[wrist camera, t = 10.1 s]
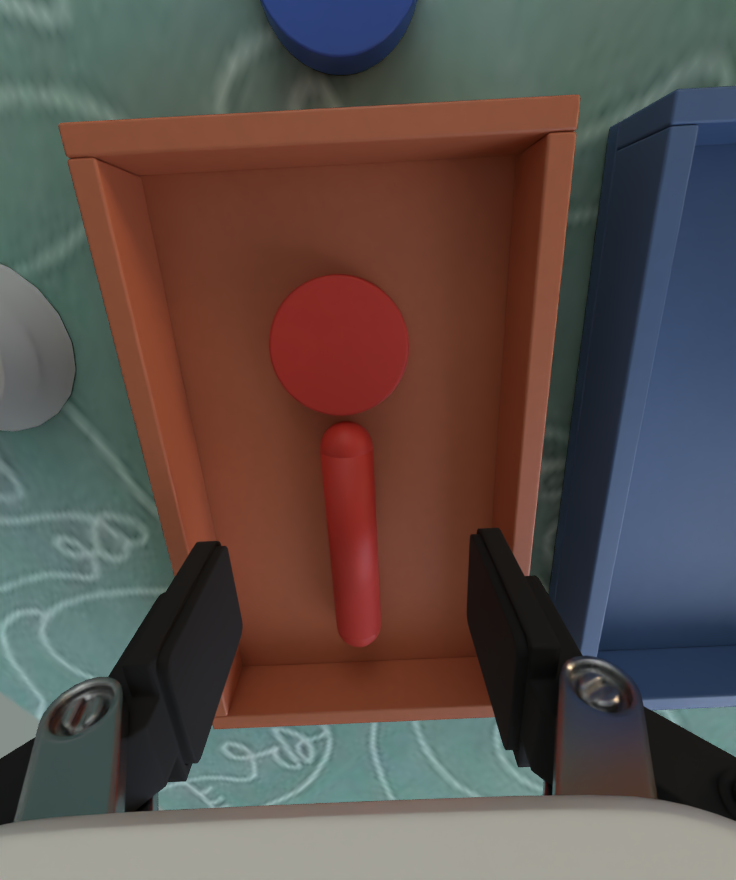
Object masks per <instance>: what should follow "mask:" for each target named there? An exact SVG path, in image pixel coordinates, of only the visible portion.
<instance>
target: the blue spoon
mask: <svg viewBox="0 0 736 880" xmlns="http://www.w3.org/2000/svg"><path fill="white" fill-rule="evenodd" d="M260 1H261V4H262V6H263V9H264V11H265V14H266V17H267V19H268V21H269V23H270V25H271V27H272V29H273V31H274V32H275V34H276V35H277V37H278V39H279V40H280V41H281V43H282V44H283V45H284V46H285V47H286V49H287V50H288V51H289V52H290V53H291V54H292V55H293V56H294V57H295V58H297V59H298V60H300V61H301V62H302V63H304V64H305V65H307V66H309V67H311V68H313V69H315V70H317V71H320V72H323V73H328V74H333V75H348V74H354V73H358V72H361V71H364V70H366V69H368V68H370V67H372V66H374V65H376V64H377V63H379V62H380V61H381V60H383V59H384V58H385V57H386V56H387V55H388V54H389V53H390V52H391V51H392V50H393V49H394V48H395V46H396V45H397V44H398V43H399V41H400V40H401V38H402V37H403V35H404V33H405V32H406V29H407V27H408V25H409V23H410V21H411V19H412V16H413V13H414V10H415V7H416V3H417V0H260Z"/></svg>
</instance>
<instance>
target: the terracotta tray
mask: <svg viewBox="0 0 736 880" xmlns="http://www.w3.org/2000/svg"><path fill="white" fill-rule="evenodd" d="M579 107H580V95H560V96H542V97H524V98H505V99H487V100H469V101H451V102H432V103H414V104H396V105H378V106H359V107H341V108H323V109H305V110H286V111H268V112H250V113H232V114H214V115H195V116H177V117H159V118H141V119H122V120H104V121H86V122H68V123H60V124H59V126H58V127H59V131H60V135H61V138H62V142H63V146H64V150H65V154H66V156H67V157H68V158H71V159H69V160H68V166H69V169H70V173H71V177H72V181H73V185H74V189H75V193H76V197H77V200H78V204H79V208H80V212H81V216H82V220H83V224H84V228H85V231H86V235H87V239H88V243H89V247H90V251H91V255H92V259H93V262H94V266H95V270H96V274H97V278H98V282H99V286H100V290H101V293H102V297H103V301H104V305H105V309H106V313H107V317H108V321H109V324H110V328H111V332H112V336H113V340H114V344H115V348H116V352H117V355H118V359H119V363H120V367H121V371H122V375H123V379H124V383H125V386H126V390H127V394H128V398H129V402H130V406H131V410H132V414H133V418H134V421H135V425H136V429H137V433H138V437H139V441H140V445H141V449H142V452H143V456H144V460H145V464H146V468H147V472H148V476H149V480H150V483H151V487H152V491H153V495H154V499H155V503H156V507H157V511H158V514H159V518H160V522H161V526H162V530H163V534H164V538H165V542H166V545H167V549H168V553H169V557H170V561H171V565H172V569H173V573H174V576H176V574H177V573H178V571H179V570H180V568H181V566H182V565H183V563H184V561H185V560H186V558H187V556H188V555H189V553H190V552H191V550H192V548H193V547H194V545H195V544H196V542H200V541H219V542H220V543H221V546H227V548H228V551H229V556H230V561H231V566H232V572H233V577H234V582H235V587H236V592H237V597H238V602H239V607H240V612H241V617H242V623H243V629H242V635H241V639H240V642H239V645H238V648H237V651H236V654H235V657H234V660H233V663H232V666H231V669H230V672H229V675H228V678H227V681H226V684H225V687H224V690H223V693H222V696H221V699H220V702H219V705H218V708H217V711H216V714H215V717H214V720H213V723H212V725H213V728H214V729H230V728H254V727H277V726H300V725H323V724H347V723H370V722H393V721H416V720H440V719H463V718H486V717H495V715H494V712H493V709H492V705H491V702H490V698H489V695H488V692H487V688H486V685H485V681H484V678H483V674H482V671H481V668H480V664H479V661H478V657H477V654H476V651H475V647H474V644H473V640H472V637H471V634H470V630H469V627H468V622H467V588H468V566H469V543H470V535H471V534H476V533H477V529H479V528H499V529H500V530H501V532H502V534H503V536H504V537H505V539H506V541H507V543H508V545H509V547H510V549H511V551H512V553H513V555H514V557H515V558H516V560H517V562H518V564H519V566H520V568H521V570H522V572H523V574H524V576H529V574H530V565H531V556H532V546H533V537H534V528H535V518H536V509H537V500H538V490H539V481H540V472H541V462H542V453H543V444H544V434H545V425H546V415H547V406H548V397H549V387H550V378H551V369H552V359H553V350H554V341H555V331H556V322H557V313H558V303H559V294H560V285H561V275H562V266H563V257H564V247H565V238H566V229H567V219H568V210H569V200H570V191H571V182H572V172H573V163H574V154H575V144H576V132H573V131H575V130H576V129H577V126H578V116H579ZM331 274H348V275H354V276H357V277H360V278H363V279H366V280H368V281H370V282H372V283H373V284H375V285H376V286H378V287H379V288H380V289H382V290H383V291H384V292H385V293H386V294H387V295H388V296H389V297H390V298H391V299H392V300H393V302H394V303H395V304H396V306H397V307H398V309H399V310H400V312H401V314H402V316H403V318H404V321H405V324H406V327H407V332H408V336H409V356H408V362H407V366H406V369H405V372H404V374H403V376H402V379H401V381H400V382H399V384H398V385H397V387H396V388H395V389H394V391H393V392H392V393H391V394H390V395H389V396H388V397H387V398H386V399H385V400H384V401H382V402H381V403H380V404H378V405H377V406H375V407H373V408H371V409H369V410H367V411H364V412H362V413H358V414H354V415H346V416H335V415H328V414H323V413H320V412H317V411H314V410H312V409H310V408H308V407H306V406H304V405H302V404H301V403H300V402H298V401H297V400H295V399H294V398H293V397H292V396H291V395H290V394H289V393H288V392H287V391H286V389H285V388H284V387H283V386H282V384H281V383H280V381H279V379H278V378H277V376H276V373H275V371H274V369H273V366H272V363H271V358H270V353H269V334H270V329H271V324H272V321H273V318H274V316H275V314H276V312H277V310H278V308H279V306H280V305H281V303H282V302H283V300H284V299H285V298H286V297H287V296H288V295H289V294H290V293H291V292H292V291H293V290H294V289H296V288H297V287H298V286H300V285H302V284H303V283H305V282H307V281H309V280H311V279H314V278H317V277H320V276H324V275H331ZM342 421H351V422H355V423H358V424H359V425H361V426H363V427H364V428H365V429H366V430H367V431H368V433H369V434H370V437H371V439H372V443H373V457H374V478H375V500H376V521H377V542H378V564H379V585H380V606H381V629H380V632H379V635H378V636H377V638H376V639H375V640H374V641H373V642H372V643H371V644H369V645H367V646H364V647H354V646H351V645H349V644H347V643H346V642H345V641H344V640H343V639H342V638H341V636H340V635H339V632H338V629H337V622H336V612H335V601H334V591H333V580H332V570H331V559H330V549H329V538H328V528H327V517H326V507H325V496H324V486H323V475H322V465H321V454H320V443H321V439H322V437H323V435H324V433H325V432H326V430H327V429H328V428H329V427H331V426H332V425H334V424H336V423H338V422H342Z"/></svg>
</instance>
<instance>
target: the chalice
mask: <svg viewBox="0 0 736 880" xmlns="http://www.w3.org/2000/svg"><path fill="white" fill-rule="evenodd" d="M75 371H76V368H75V361H74V354H73V347H72V342H71V340H70V338H69V335H68V333H67V331H66V329H65V327H64V325H63V322H62V320H61V318H60V316H59V314H58V313H57V312H56V310H55V309H54V308H53V307H52V305H51V304H50V303H49V302H48V301H47V299H46V298H45V297H44V296H43V295H42V293H41V292H40V291H39V290H38V288H36V287H35V286H34V285H32V284H31V283H30V282H28V281H27V280H25V279H24V278H23V277H21V276H20V275H19V274H17V273H16V272H15V271H13V270H12V269H11V268H9V267H7V266H4V265H2V264H0V430H3V431H19V430H24V429H28V428H33V427H37V426H40V425H41V424H43V423H44V422H46V421H47V420H49V419H50V418H52V417H53V416H55V415H56V414H58V413H59V411H60V410H61V408H62V407H63V405H64V404H65V402H66V401H67V399H68V398H69V396H70V395H71V391H72V386H73V381H74V376H75Z"/></svg>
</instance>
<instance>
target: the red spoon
mask: <svg viewBox="0 0 736 880" xmlns="http://www.w3.org/2000/svg"><path fill="white" fill-rule="evenodd" d="M269 353H270V358H271V363H272V366H273V369H274V371H275V373H276V376H277V378H278V379H279V381H280V383H281V384H282V386H283V387H284V388H285V389H286V391H287V392H288V393H289V394H290V395H291V396H292V397H293V398H294V399H295V400H297V401H298V402H300V403H301V404H302V405H304V406H306V407H308V408H310V409H312V410H314V411H317V412H320V413H323V414H328V415H335V416H346V415H354V414H358V413H362V412H364V411H367V410H369V409H371V408H373V407H375V406H377V405H378V404H380V403H381V402H382V401H384V400H385V399H386V398H387V397H388V396H389V395H390V394H391V393H392V392H393V391H394V389H395V388H396V387H397V385H398V384H399V382H400V381H401V379H402V376H403V374H404V372H405V369H406V366H407V362H408V356H409V336H408V332H407V327H406V324H405V321H404V318H403V316H402V314H401V312H400V310H399V309H398V307H397V306H396V304H395V303H394V302H393V300H392V299H391V298H390V297H389V296H388V295H387V294H386V293H385V292H384V291H383V290H382V289H380V288H379V287H378V286H376V285H375V284H373V283H372V282H370V281H368V280H366V279H363V278H360V277H357V276H354V275H348V274H331V275H324V276H320V277H317V278H314V279H311V280H309V281H307V282H305V283H303V284H302V285H300V286H298V287H297V288H296V289H294V290H293V291H292V292H291V293H290V294H289V295H288V296H287V297H286V298H285V299H284V300H283V302H282V303H281V305H280V306H279V308H278V310H277V312H276V314H275V316H274V318H273V321H272V324H271V329H270V334H269ZM320 454H321V465H322V475H323V486H324V496H325V507H326V517H327V528H328V538H329V549H330V559H331V570H332V580H333V591H334V601H335V612H336V622H337V629H338V632H339V635H340V636H341V638H342V639H343V640H344V641H345V642H346V643H347V644H349V645H351V646H354V647H364V646H367V645H369V644H371V643H372V642H373V641H374V640H375V639H376V638H377V636H378V635H379V632H380V629H381V606H380V585H379V564H378V542H377V521H376V500H375V478H374V457H373V443H372V439H371V437H370V434H369V433H368V431H367V430H366V429H365V428H364V427H363V426H361V425H359V424H358V423H355V422H351V421H342V422H338V423H336V424H334V425H332V426H331V427H329V428H328V429H327V430H326V432H325V433H324V435H323V437H322V439H321V443H320Z"/></svg>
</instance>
